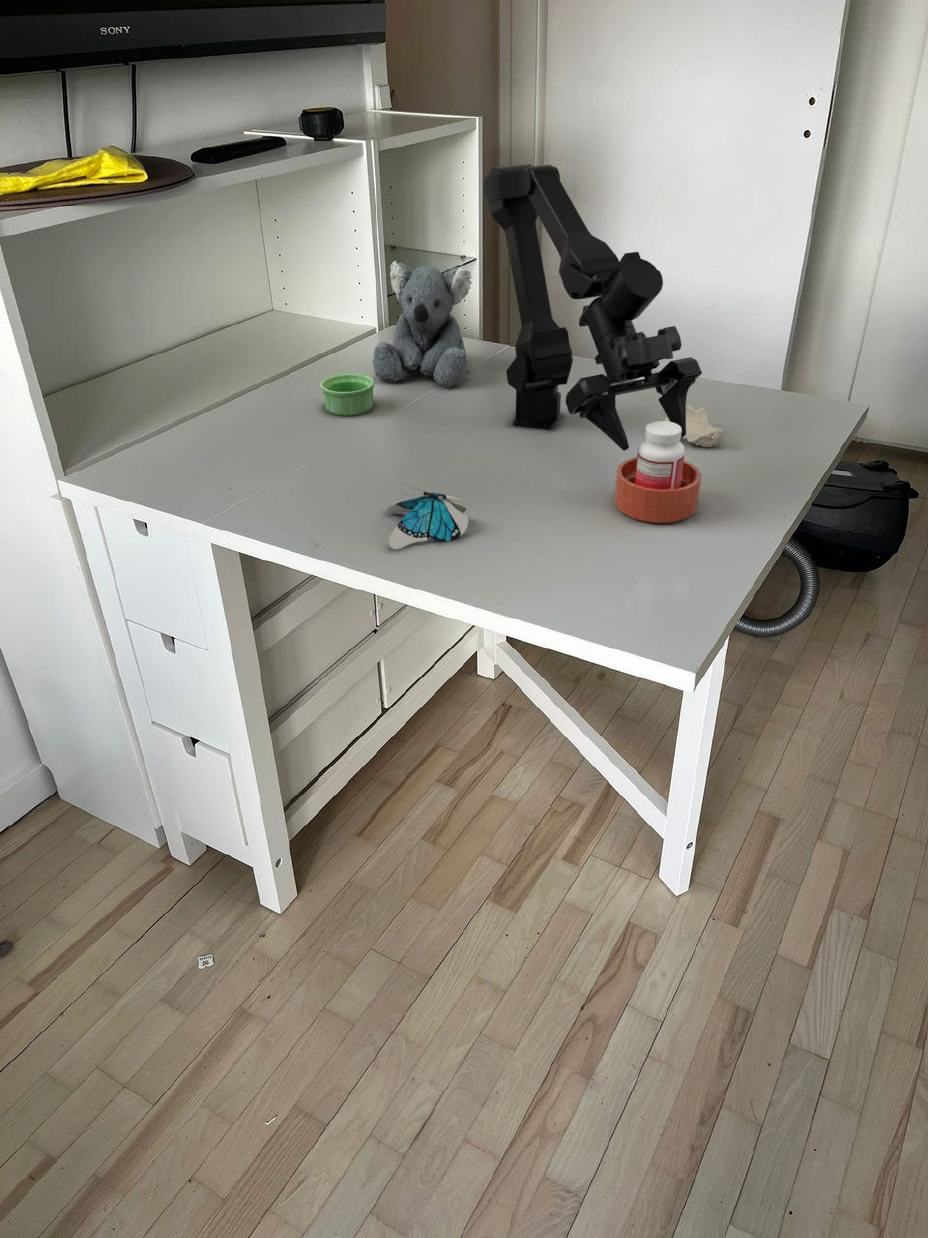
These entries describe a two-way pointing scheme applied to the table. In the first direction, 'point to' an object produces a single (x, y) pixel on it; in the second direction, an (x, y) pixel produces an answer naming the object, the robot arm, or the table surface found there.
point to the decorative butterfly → (428, 520)
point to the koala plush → (425, 326)
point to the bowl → (656, 495)
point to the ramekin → (348, 394)
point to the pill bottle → (660, 457)
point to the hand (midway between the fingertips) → (655, 442)
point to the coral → (699, 427)
